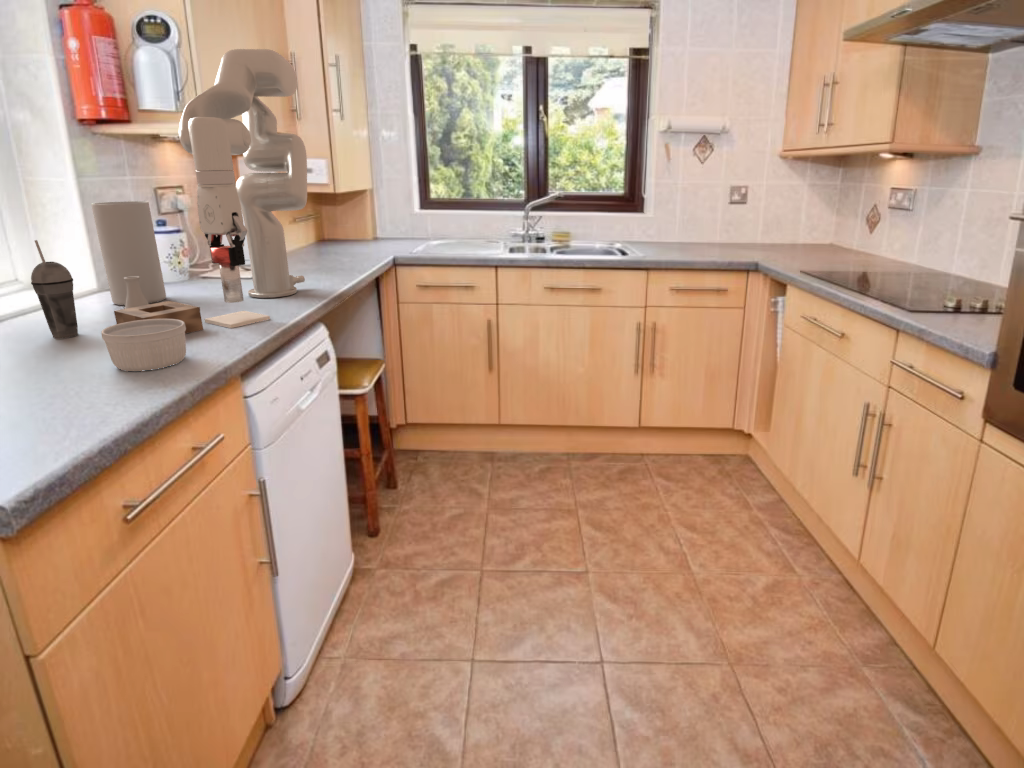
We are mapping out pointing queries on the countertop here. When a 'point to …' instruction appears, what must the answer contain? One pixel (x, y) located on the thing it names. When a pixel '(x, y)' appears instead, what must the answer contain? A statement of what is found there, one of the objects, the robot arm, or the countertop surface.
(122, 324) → the ramekin
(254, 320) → the pad
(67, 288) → the beverage cup
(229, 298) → the spice jar
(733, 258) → the countertop surface
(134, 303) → the flask
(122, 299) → the cylinder vase
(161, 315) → the eye block
